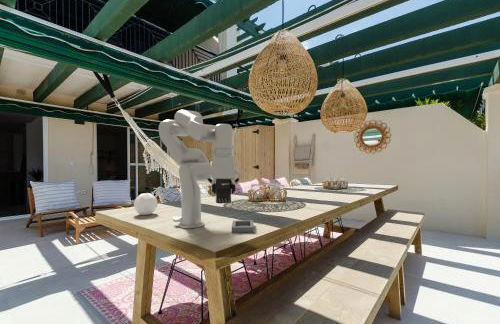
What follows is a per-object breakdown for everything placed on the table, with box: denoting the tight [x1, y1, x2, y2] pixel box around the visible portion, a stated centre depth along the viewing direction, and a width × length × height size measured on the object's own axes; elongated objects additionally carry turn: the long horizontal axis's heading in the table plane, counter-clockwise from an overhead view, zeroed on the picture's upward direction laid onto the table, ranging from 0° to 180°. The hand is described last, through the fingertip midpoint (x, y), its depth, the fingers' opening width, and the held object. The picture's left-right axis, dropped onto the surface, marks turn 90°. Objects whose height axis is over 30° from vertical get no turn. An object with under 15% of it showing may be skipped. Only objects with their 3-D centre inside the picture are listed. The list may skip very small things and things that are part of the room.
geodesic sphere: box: [133, 192, 158, 216], centre depth 158 cm, size 14×14×14 cm
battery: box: [215, 179, 232, 205], centre depth 113 cm, size 7×4×11 cm, turn 115°
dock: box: [231, 219, 255, 234], centre depth 124 cm, size 10×13×2 cm
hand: (223, 193), depth 113 cm, fingers closed on battery, 7 cm apart
